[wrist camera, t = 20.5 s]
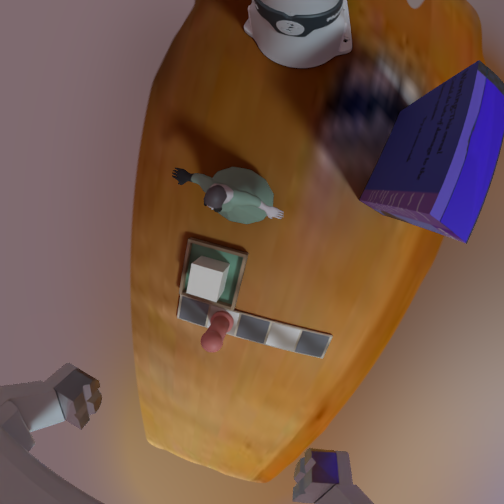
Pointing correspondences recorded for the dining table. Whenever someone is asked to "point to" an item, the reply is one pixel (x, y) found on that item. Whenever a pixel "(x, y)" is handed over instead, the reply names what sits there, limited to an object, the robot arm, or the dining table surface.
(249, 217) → the character figurine
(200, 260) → the die
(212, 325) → the pawn
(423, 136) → the cereal box
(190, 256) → the dice tray
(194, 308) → the track board
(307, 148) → the dining table surface
